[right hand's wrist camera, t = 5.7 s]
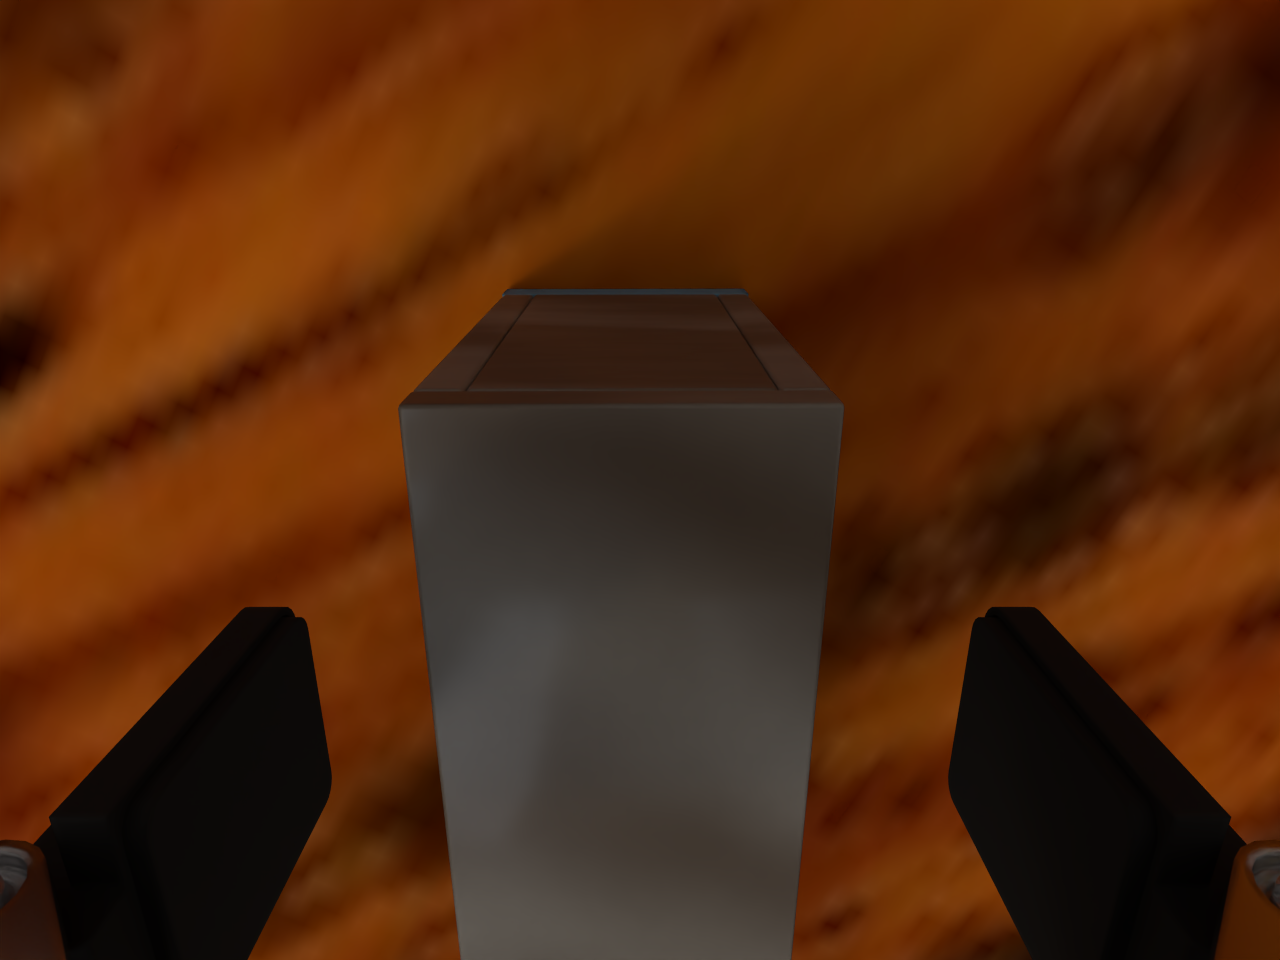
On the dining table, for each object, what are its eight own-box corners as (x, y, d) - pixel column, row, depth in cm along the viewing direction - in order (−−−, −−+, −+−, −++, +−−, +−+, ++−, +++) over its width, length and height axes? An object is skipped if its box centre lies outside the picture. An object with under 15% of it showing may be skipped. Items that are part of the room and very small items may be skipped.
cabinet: (720, 790, 25) (773, 1156, 16) (536, 791, 25) (481, 1161, 16) (743, 288, 20) (847, 403, 10) (507, 289, 20) (395, 404, 10)
